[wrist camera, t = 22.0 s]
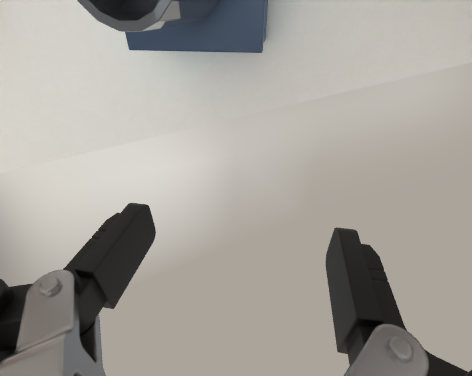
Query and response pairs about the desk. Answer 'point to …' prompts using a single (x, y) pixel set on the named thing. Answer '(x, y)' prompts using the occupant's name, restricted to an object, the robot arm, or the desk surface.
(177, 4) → the cup
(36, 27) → the desk surface
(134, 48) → the container
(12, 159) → the desk surface
